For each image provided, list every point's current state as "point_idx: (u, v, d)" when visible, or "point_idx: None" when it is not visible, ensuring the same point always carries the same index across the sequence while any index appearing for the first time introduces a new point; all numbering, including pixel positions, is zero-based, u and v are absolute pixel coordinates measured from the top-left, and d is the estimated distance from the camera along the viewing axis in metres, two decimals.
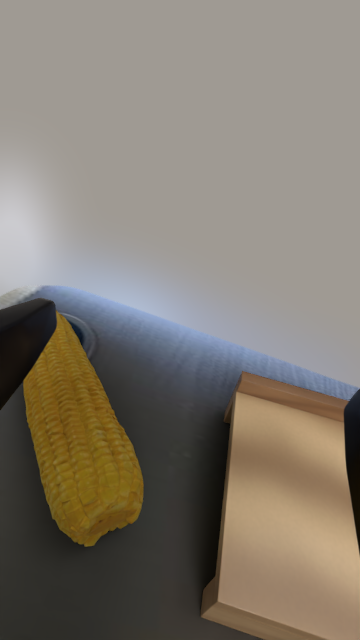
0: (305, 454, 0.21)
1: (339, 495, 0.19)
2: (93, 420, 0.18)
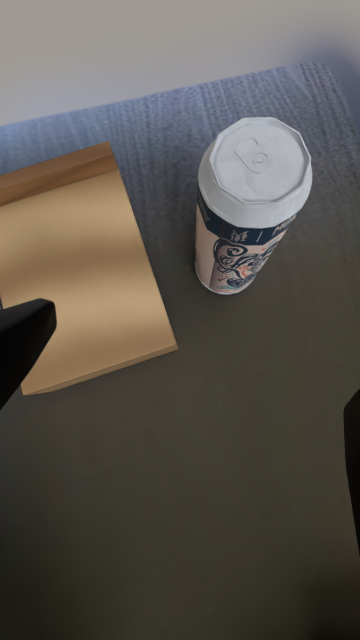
0: (67, 239, 0.20)
1: (103, 258, 0.20)
2: None
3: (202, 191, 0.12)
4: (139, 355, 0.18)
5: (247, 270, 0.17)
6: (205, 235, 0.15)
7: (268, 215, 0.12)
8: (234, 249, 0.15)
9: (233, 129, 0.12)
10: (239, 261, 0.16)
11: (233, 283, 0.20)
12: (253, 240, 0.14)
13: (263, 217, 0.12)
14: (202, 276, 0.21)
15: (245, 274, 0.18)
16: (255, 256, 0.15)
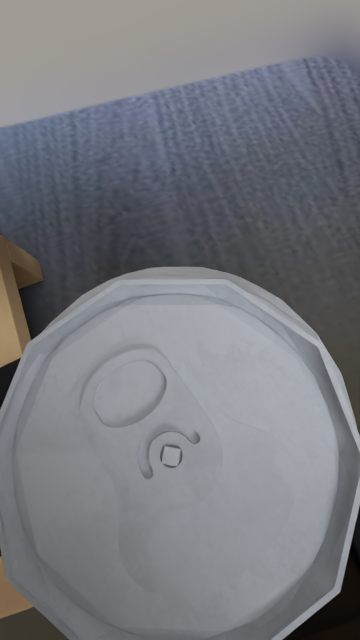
0: None
1: None
2: None
3: None
4: (13, 611, 0.10)
5: None
6: None
7: None
8: None
9: (91, 311, 0.04)
10: None
11: None
12: None
13: None
14: None
15: None
16: None
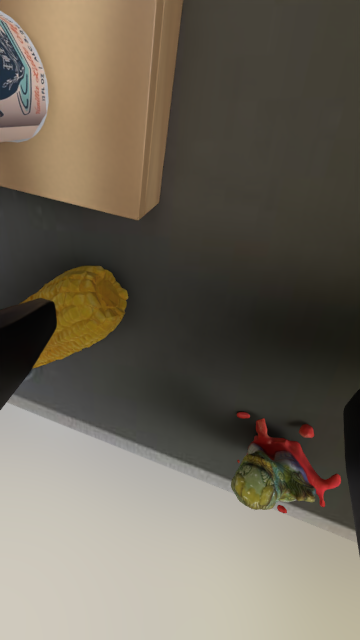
0: None
1: None
2: None
3: None
4: (152, 30, 0.12)
5: None
6: None
7: None
8: None
9: None
10: None
11: (7, 82, 0.11)
12: None
13: None
14: (13, 138, 0.13)
15: None
16: None
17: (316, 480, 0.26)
